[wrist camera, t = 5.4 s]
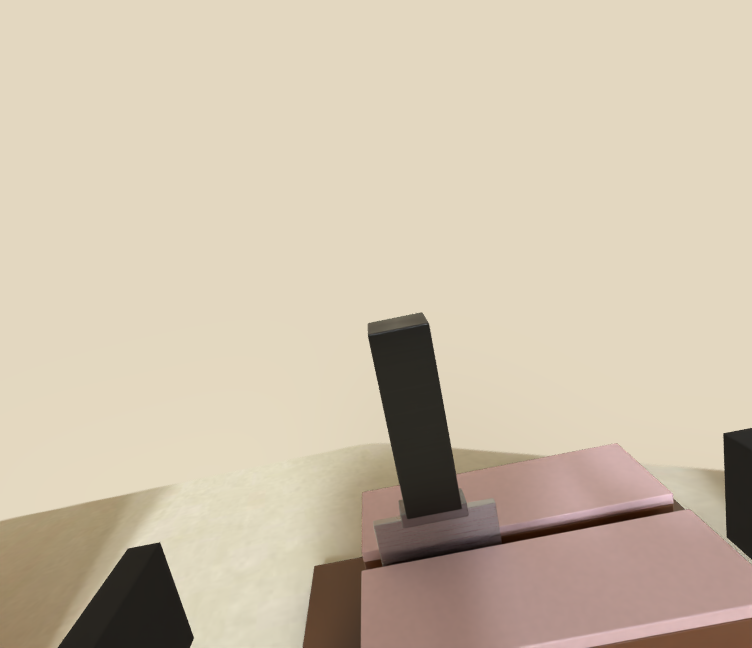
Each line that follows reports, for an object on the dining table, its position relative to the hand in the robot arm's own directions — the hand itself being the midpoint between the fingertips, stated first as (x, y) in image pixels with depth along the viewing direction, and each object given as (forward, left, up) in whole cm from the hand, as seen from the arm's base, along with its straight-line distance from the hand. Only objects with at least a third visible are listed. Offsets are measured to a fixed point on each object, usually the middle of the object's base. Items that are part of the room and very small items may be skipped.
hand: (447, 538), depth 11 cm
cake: (-4, -11, -16) cm, 19 cm away
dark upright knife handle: (0, -11, -16) cm, 19 cm away
